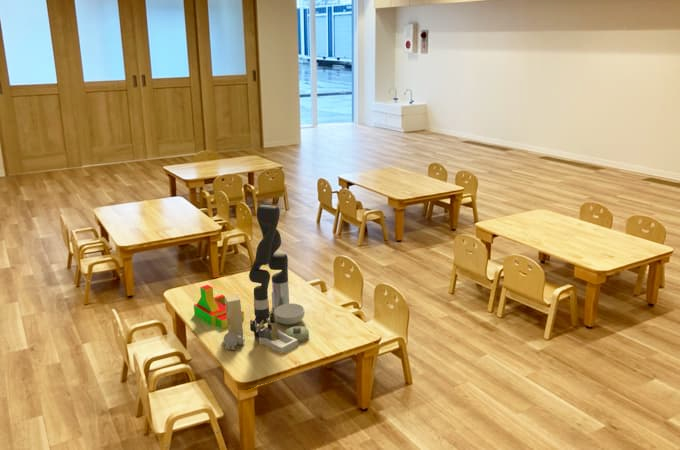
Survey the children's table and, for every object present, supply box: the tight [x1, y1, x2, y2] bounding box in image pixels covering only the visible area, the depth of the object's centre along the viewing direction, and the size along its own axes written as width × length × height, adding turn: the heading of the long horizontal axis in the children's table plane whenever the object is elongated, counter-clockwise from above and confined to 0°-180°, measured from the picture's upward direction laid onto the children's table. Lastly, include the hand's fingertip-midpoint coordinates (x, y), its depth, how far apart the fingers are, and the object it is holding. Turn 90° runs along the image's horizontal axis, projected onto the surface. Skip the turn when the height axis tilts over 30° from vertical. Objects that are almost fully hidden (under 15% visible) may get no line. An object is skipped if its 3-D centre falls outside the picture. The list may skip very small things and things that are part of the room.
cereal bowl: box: [273, 302, 305, 326], centre depth 332 cm, size 17×17×7 cm
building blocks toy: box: [193, 284, 245, 329], centre depth 337 cm, size 19×25×18 cm
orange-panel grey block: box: [254, 324, 273, 341], centre depth 314 cm, size 8×4×7 cm, turn 46°
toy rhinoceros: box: [220, 332, 246, 351], centre depth 306 cm, size 7×12×8 cm, turn 127°
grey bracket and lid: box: [258, 325, 310, 354], centre depth 313 cm, size 16×24×5 cm
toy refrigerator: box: [224, 294, 244, 337], centre depth 317 cm, size 8×7×21 cm
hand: (263, 334), depth 314 cm, fingers open, 8 cm apart
